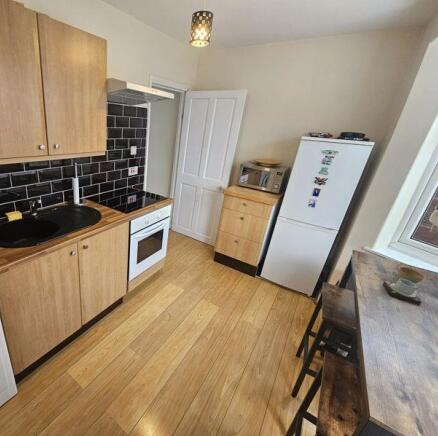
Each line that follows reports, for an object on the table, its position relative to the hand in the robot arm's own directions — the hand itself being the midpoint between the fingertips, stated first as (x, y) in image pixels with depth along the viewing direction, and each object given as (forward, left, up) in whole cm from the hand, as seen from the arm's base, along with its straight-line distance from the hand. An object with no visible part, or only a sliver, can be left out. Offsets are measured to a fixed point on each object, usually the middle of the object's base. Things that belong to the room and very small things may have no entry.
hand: (437, 236), depth 117 cm
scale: (+7, +17, -29) cm, 35 cm away
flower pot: (+1, +2, -29) cm, 29 cm away
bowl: (+7, +17, -26) cm, 32 cm away
